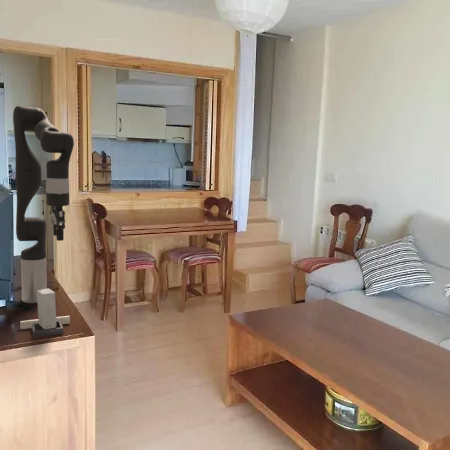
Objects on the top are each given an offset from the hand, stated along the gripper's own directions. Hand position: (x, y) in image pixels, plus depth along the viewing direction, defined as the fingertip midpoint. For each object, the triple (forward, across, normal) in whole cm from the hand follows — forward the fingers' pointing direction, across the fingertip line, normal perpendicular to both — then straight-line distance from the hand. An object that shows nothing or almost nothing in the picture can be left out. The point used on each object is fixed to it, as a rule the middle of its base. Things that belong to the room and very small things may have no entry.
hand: (58, 237), depth 165 cm
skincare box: (+28, +9, -5) cm, 30 cm away
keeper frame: (+30, +9, -5) cm, 32 cm away
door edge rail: (+30, +4, -5) cm, 31 cm away
